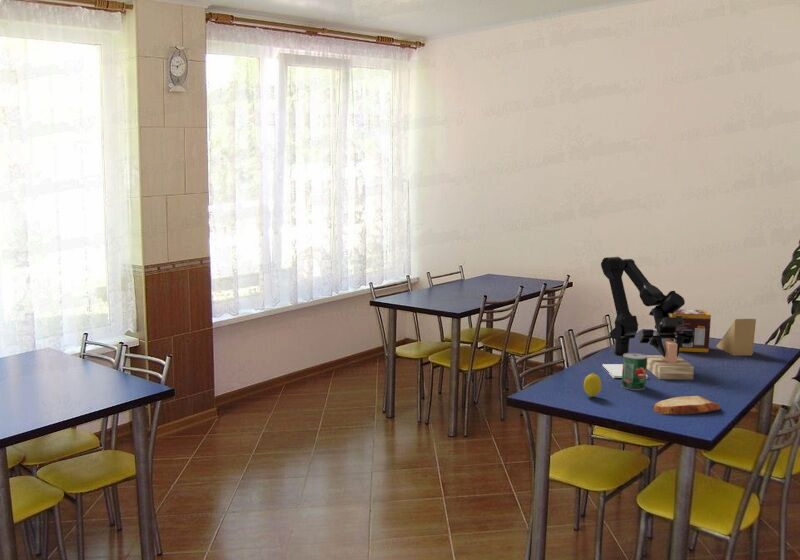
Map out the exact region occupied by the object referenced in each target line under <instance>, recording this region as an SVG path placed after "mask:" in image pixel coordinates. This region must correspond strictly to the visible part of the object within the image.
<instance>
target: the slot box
mask: <svg viewBox="0 0 800 560" xmlns="http://www.w3.org/2000/svg"><path fill="white" fill-rule="evenodd" d="M645 355H646V354H645ZM646 356H647V369H646V370H648V371H649V372H650V373H651V374H653V375H654V376H655V377H656V378H658V380H694V374H695V373H694V371H695V367H694V365H692V364H691V363H690V362H688V361H686V360H685V359H683V358H682V357H681V356H679V355H678V357H677V360H676V363H666V362H665V361H663V360H662V358H663V356H662V355H656V354H655V355H648V354H647V355H646Z"/></svg>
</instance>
